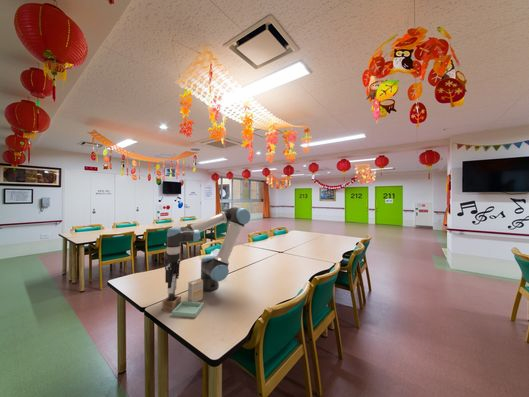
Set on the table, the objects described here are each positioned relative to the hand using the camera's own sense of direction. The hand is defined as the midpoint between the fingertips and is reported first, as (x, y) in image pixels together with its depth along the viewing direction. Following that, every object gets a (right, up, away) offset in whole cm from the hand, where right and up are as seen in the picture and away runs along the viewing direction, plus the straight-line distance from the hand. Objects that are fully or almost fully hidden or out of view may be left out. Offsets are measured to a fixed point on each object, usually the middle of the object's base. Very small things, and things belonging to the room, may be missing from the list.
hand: (172, 291), depth 124 cm
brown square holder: (0, -10, 0) cm, 10 cm away
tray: (+11, -10, -4) cm, 16 cm away
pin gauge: (0, -4, 0) cm, 4 cm away
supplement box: (+12, -10, +8) cm, 17 cm away
